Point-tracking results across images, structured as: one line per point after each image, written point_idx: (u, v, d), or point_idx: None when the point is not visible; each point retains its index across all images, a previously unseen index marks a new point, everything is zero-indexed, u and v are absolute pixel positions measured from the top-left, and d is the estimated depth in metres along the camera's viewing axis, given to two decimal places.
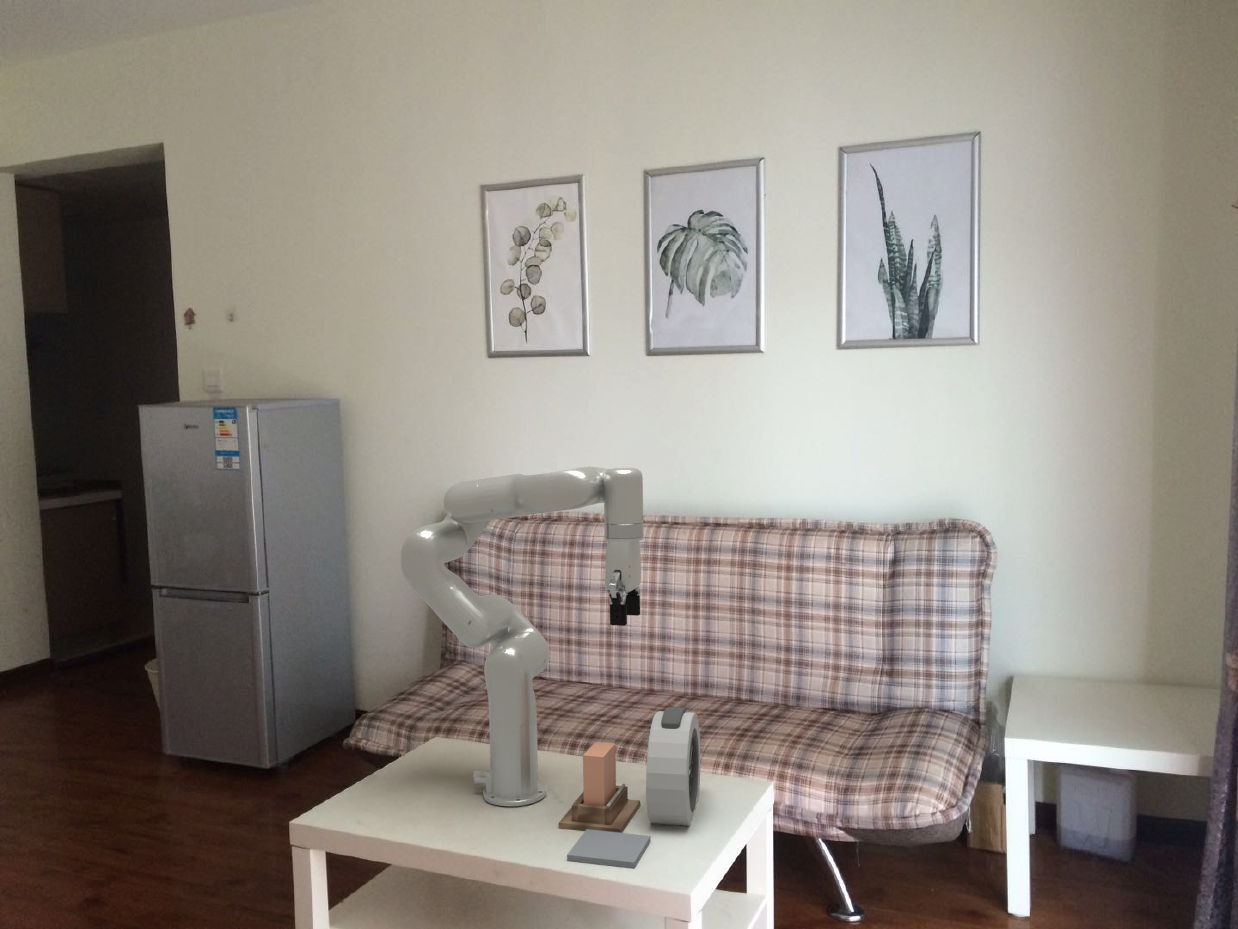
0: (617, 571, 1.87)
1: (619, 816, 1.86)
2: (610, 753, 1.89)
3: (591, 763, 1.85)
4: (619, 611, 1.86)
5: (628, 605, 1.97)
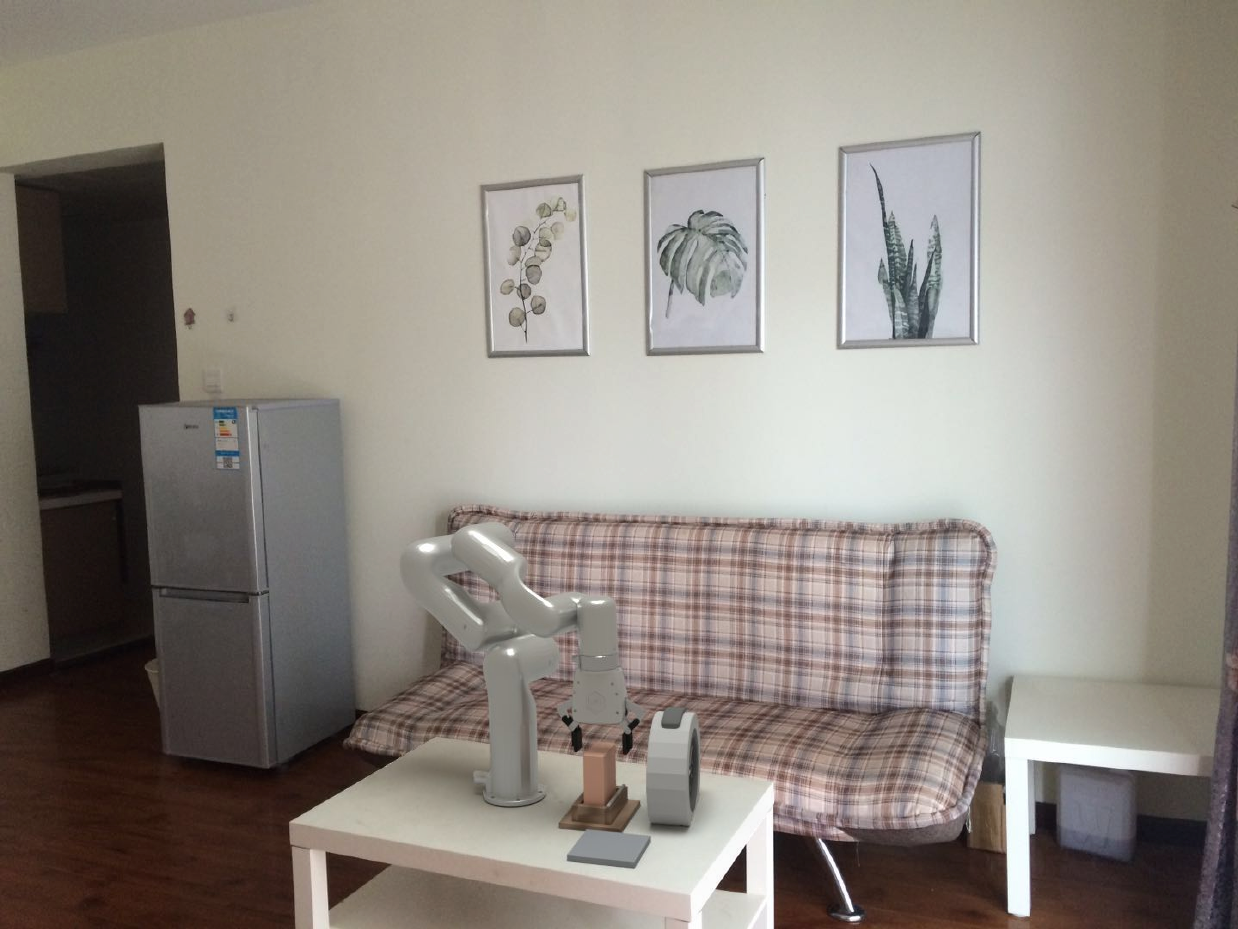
0: (625, 699, 1.87)
1: (619, 816, 1.86)
2: (610, 753, 1.89)
3: (591, 763, 1.85)
4: (632, 737, 1.87)
5: (578, 740, 1.89)
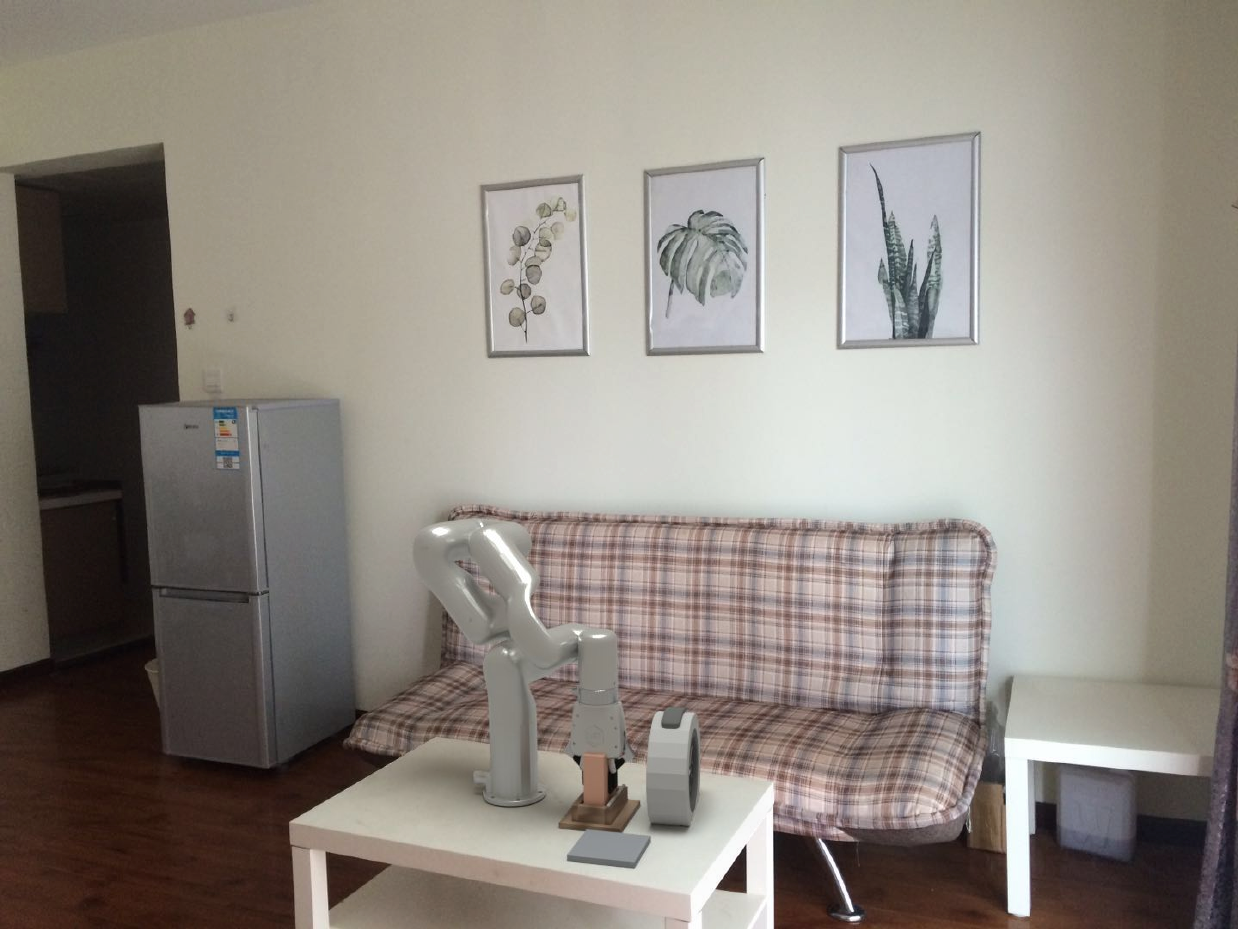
0: None
1: (619, 816, 1.86)
2: None
3: (591, 763, 1.85)
4: (617, 776, 1.88)
5: None
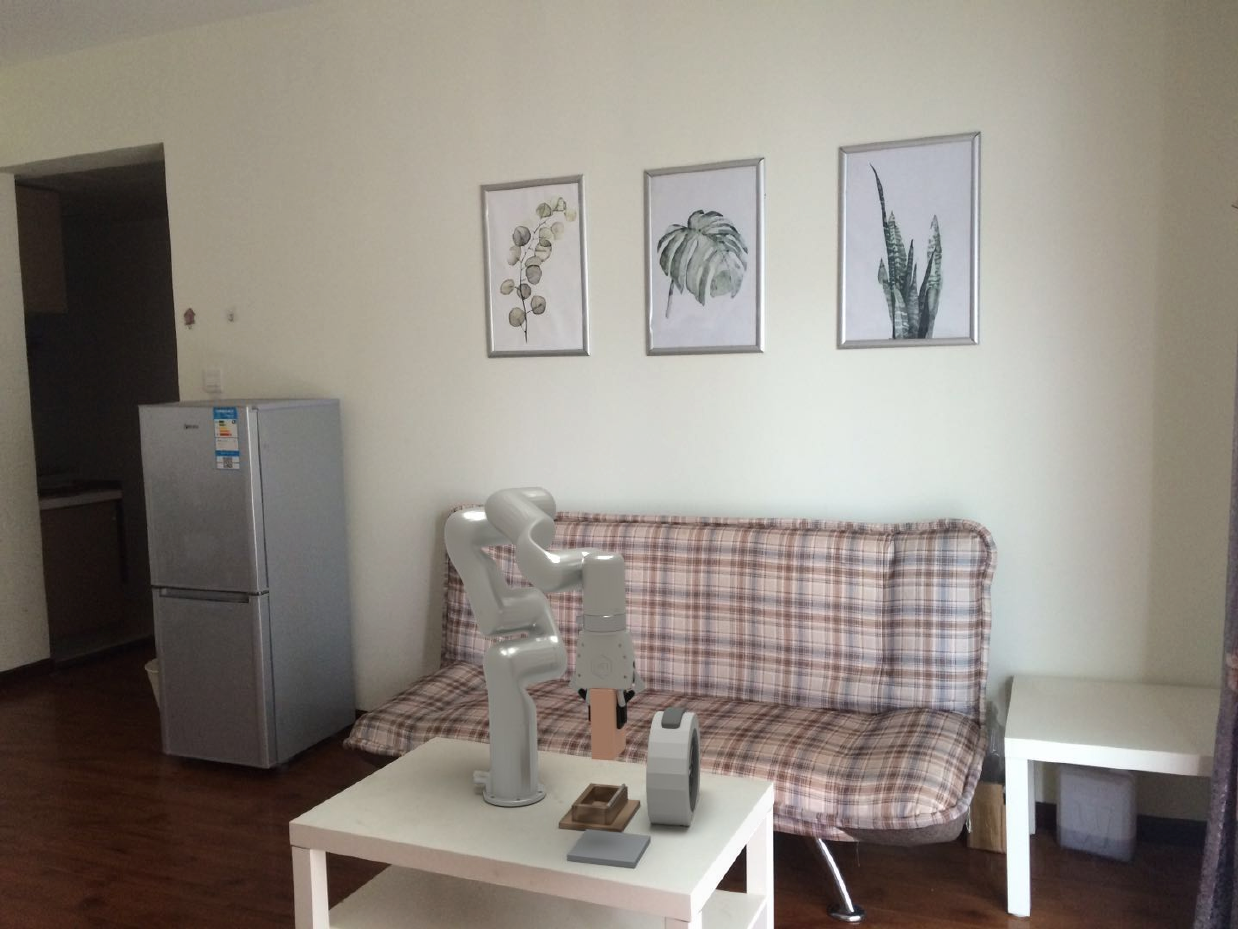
0: None
1: (619, 816, 1.86)
2: None
3: (599, 698, 1.71)
4: (626, 710, 1.74)
5: None
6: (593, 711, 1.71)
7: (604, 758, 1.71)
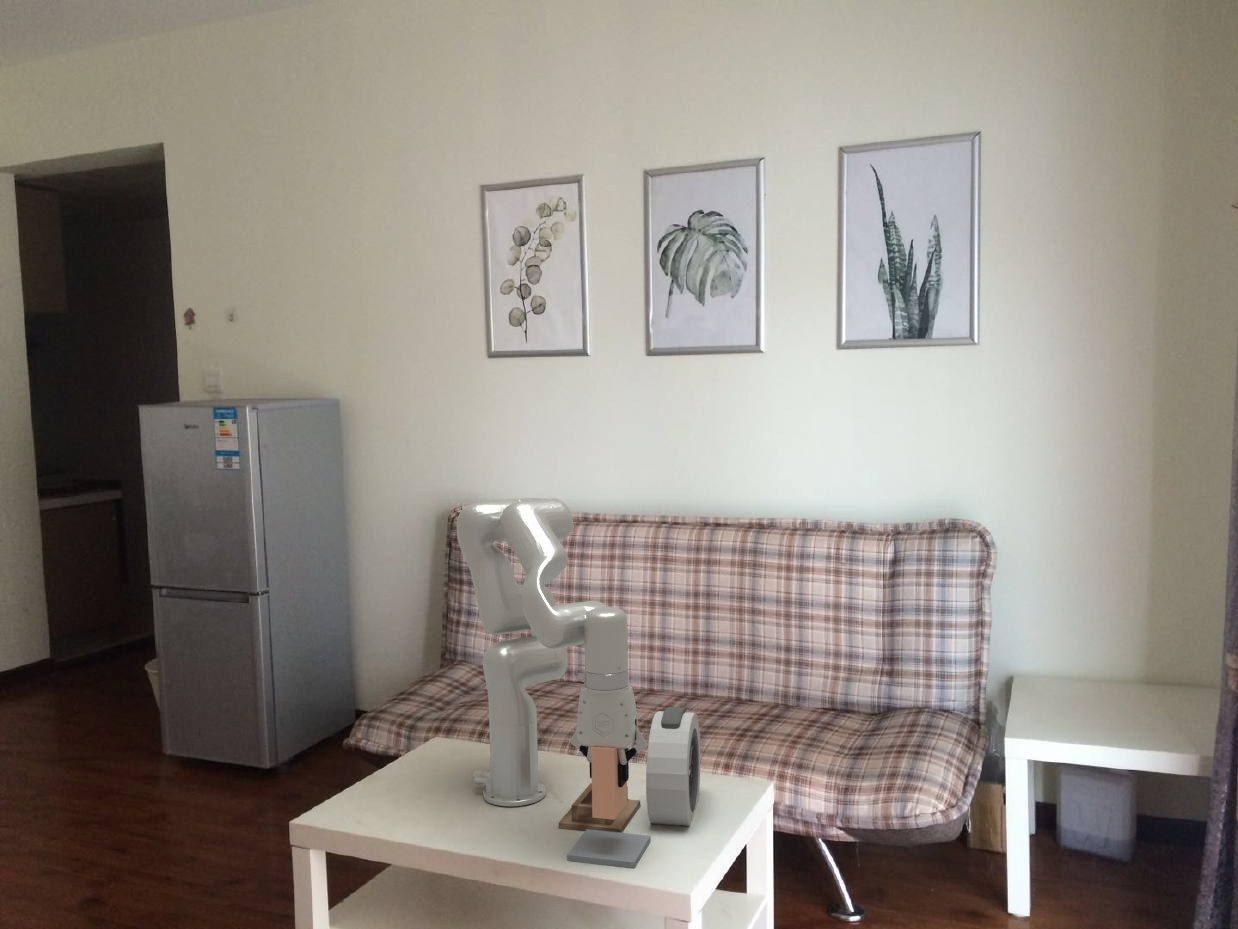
0: None
1: (619, 816, 1.86)
2: None
3: (600, 756, 1.70)
4: (628, 768, 1.73)
5: None
6: (594, 769, 1.70)
7: (605, 817, 1.70)
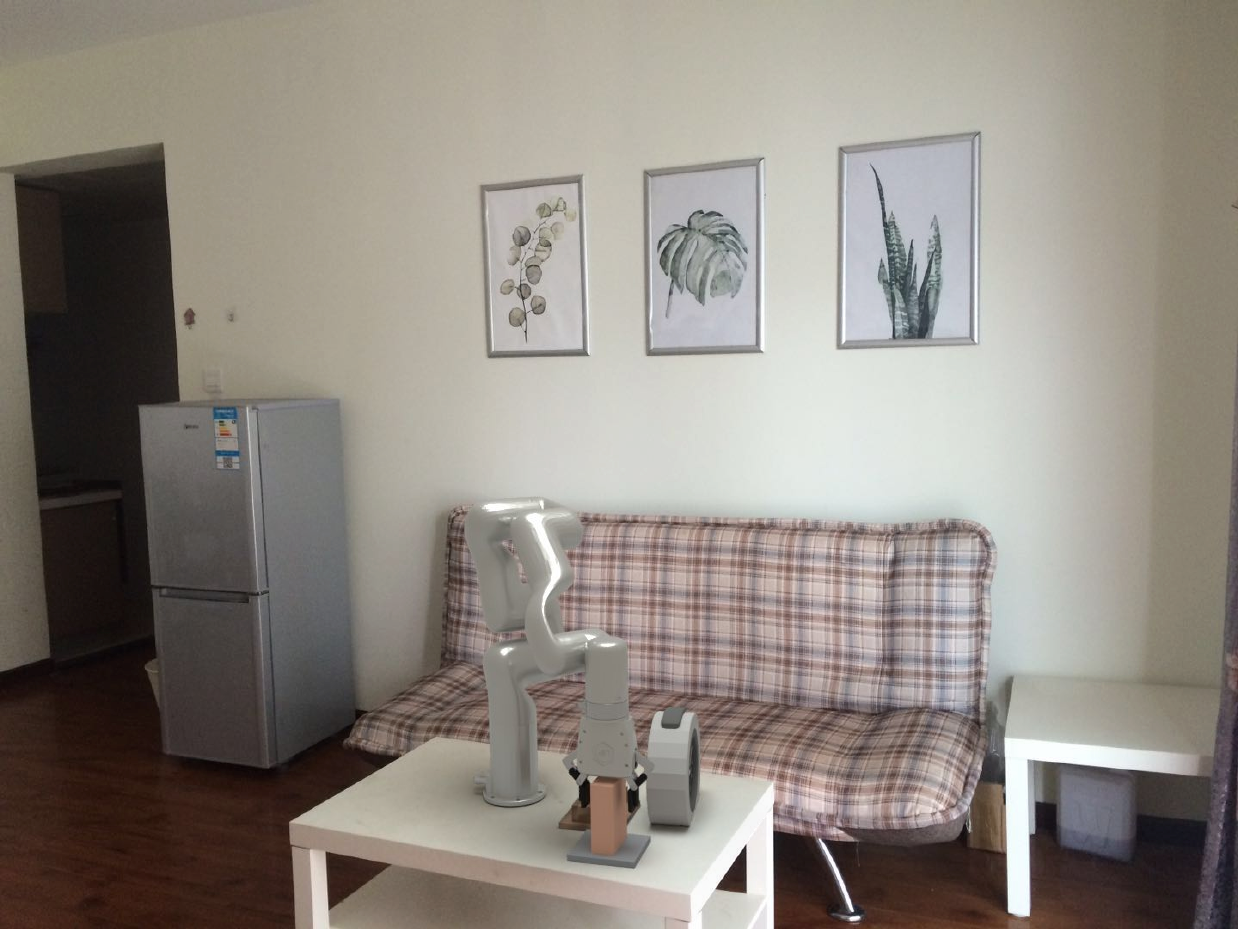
0: (635, 751, 1.72)
1: None
2: (620, 782, 1.73)
3: (599, 793, 1.70)
4: (638, 793, 1.73)
5: (586, 795, 1.74)
6: (593, 806, 1.70)
7: (604, 853, 1.70)
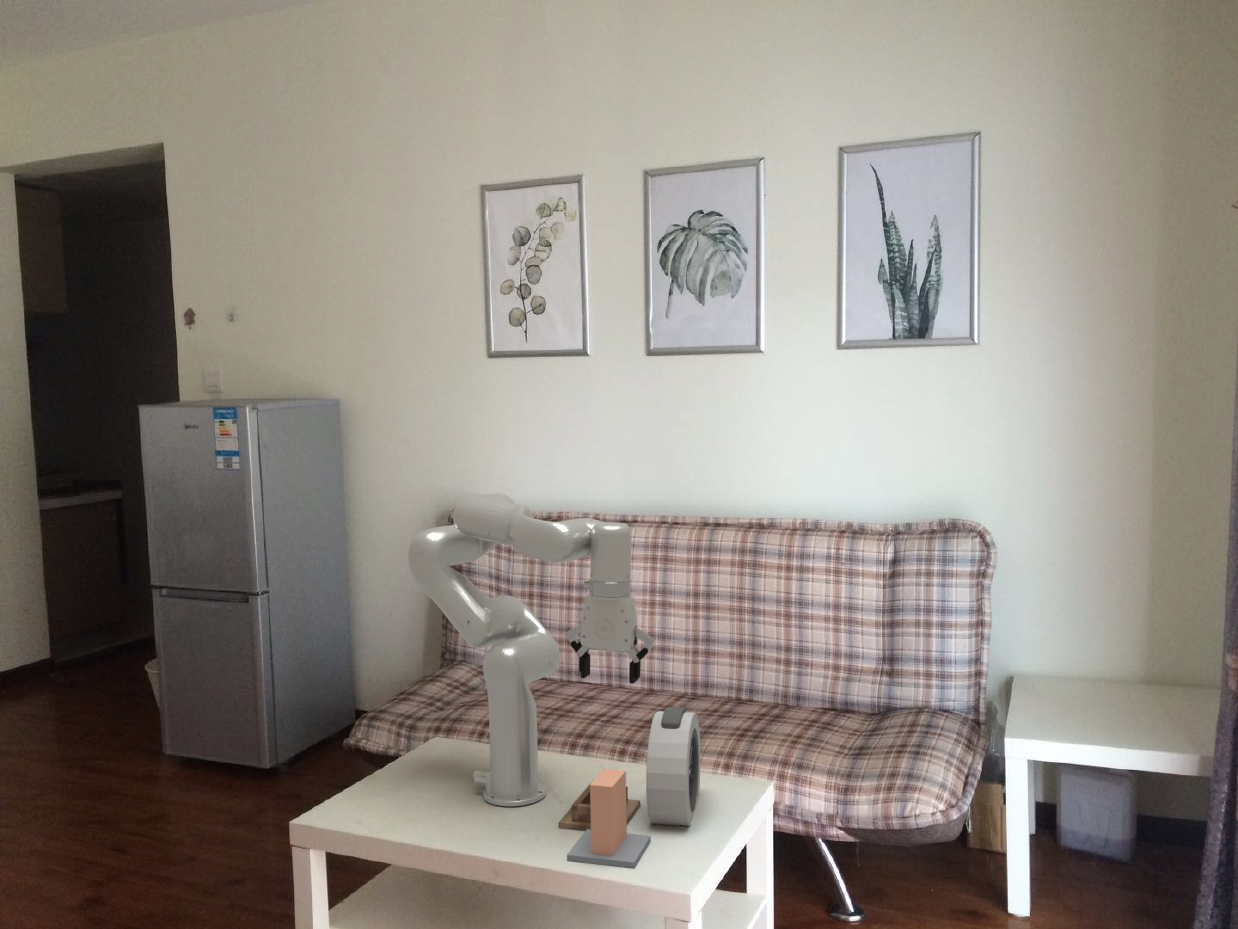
0: (635, 627, 1.84)
1: None
2: (620, 782, 1.73)
3: (599, 793, 1.70)
4: (640, 666, 1.85)
5: (586, 667, 1.87)
6: (593, 806, 1.70)
7: (604, 853, 1.70)
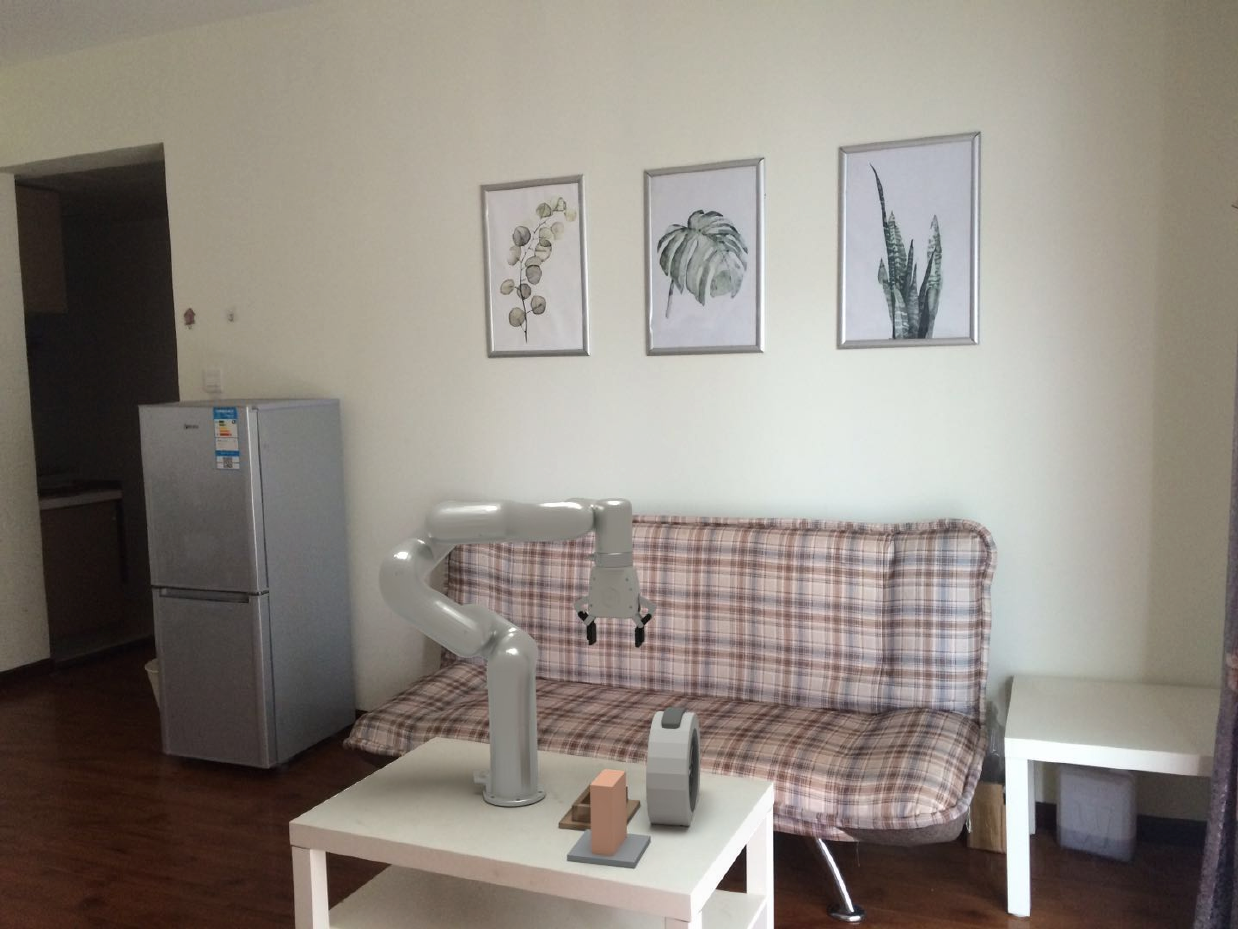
0: (638, 595, 1.97)
1: None
2: (620, 782, 1.73)
3: (599, 793, 1.70)
4: (644, 631, 1.98)
5: (593, 634, 2.00)
6: (593, 806, 1.70)
7: (604, 853, 1.70)
